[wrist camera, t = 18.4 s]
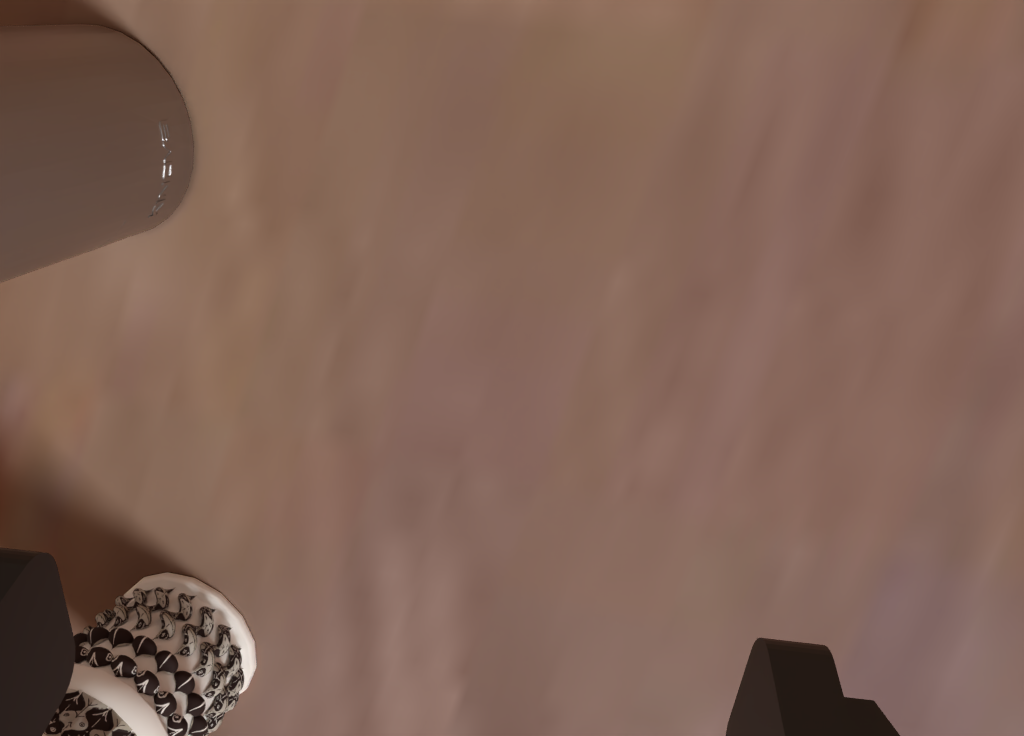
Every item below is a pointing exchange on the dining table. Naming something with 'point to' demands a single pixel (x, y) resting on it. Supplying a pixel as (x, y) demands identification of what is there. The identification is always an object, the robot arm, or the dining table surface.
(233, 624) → the decorative candle
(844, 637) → the dining table surface
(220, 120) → the dining table surface
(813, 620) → the dining table surface
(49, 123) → the robot arm
